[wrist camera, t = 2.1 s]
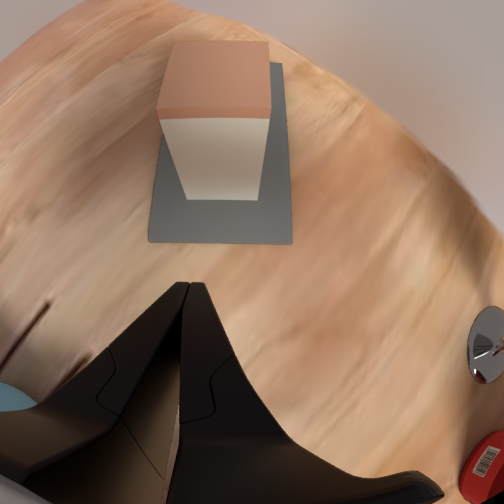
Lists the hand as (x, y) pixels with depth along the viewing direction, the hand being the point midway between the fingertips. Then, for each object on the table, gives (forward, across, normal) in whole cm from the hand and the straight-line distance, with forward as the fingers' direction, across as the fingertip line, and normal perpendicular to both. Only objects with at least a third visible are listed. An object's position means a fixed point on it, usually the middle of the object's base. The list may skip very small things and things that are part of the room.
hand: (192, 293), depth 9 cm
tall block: (+15, 0, 0) cm, 15 cm away
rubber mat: (+18, 0, -2) cm, 18 cm away
